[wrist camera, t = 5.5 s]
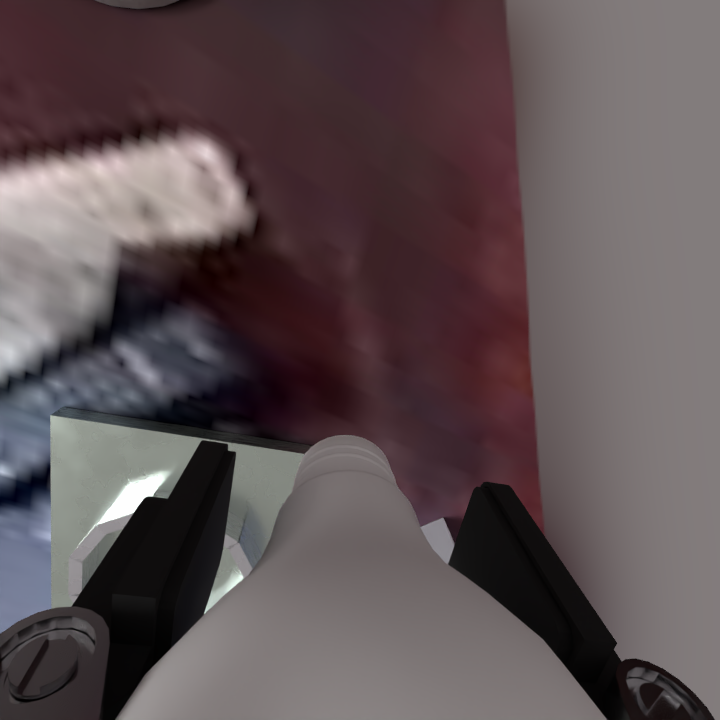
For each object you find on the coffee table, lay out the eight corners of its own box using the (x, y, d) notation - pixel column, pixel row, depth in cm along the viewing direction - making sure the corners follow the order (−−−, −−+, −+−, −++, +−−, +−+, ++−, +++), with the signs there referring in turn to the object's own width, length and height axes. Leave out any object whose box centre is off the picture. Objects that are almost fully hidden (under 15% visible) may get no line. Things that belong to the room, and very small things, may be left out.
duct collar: (62, 406, 26) (27, 431, 23) (315, 446, 28) (313, 472, 25) (61, 642, 32) (33, 686, 29) (271, 660, 34) (265, 703, 31)
